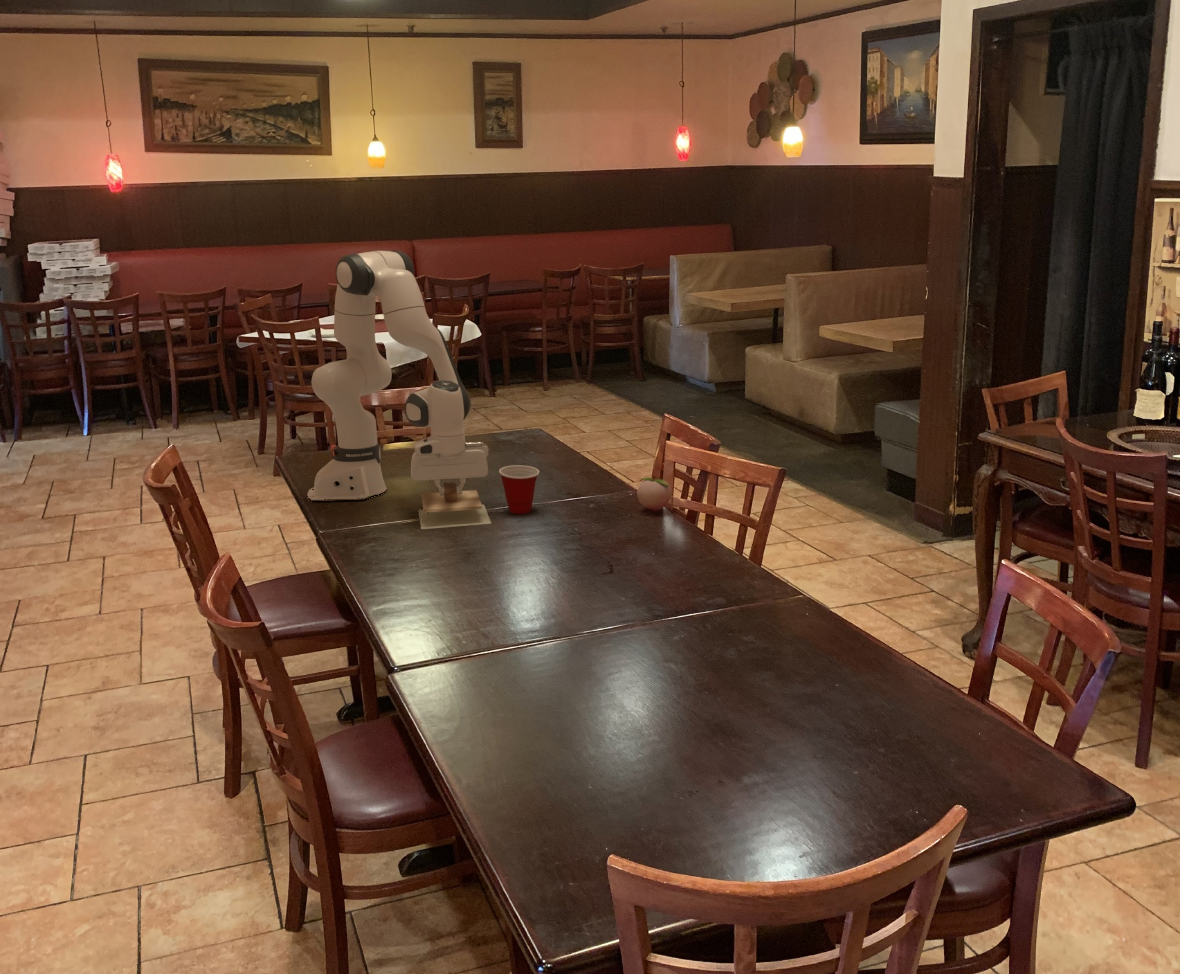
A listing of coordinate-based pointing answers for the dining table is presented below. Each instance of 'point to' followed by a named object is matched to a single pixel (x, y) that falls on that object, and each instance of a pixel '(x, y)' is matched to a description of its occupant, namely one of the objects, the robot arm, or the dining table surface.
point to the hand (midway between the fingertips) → (450, 494)
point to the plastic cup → (519, 487)
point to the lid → (450, 500)
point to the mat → (454, 518)
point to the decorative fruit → (654, 493)
